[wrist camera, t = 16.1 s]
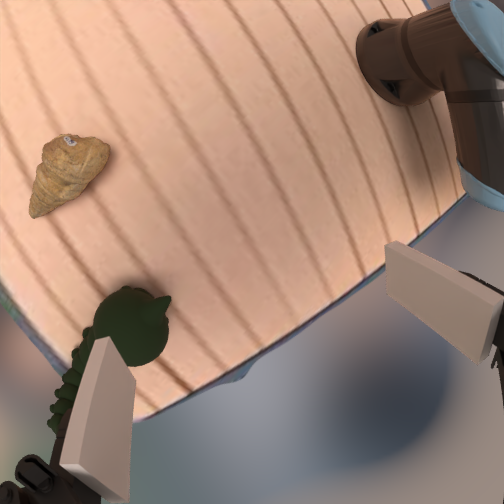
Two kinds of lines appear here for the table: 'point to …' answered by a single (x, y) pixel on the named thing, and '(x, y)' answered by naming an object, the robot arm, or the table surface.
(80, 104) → the table surface
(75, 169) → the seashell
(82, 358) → the toy figurine
